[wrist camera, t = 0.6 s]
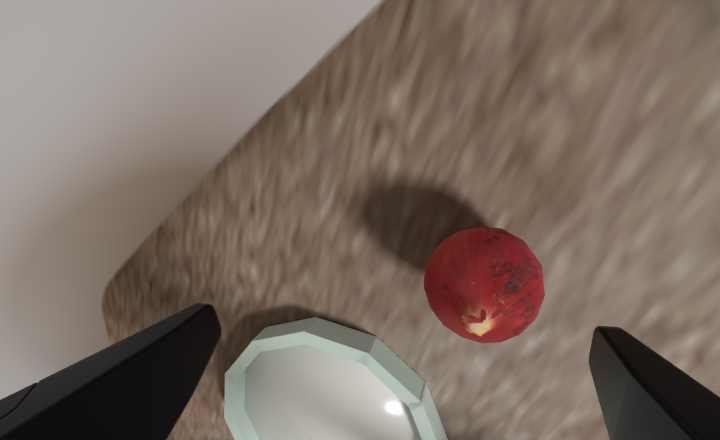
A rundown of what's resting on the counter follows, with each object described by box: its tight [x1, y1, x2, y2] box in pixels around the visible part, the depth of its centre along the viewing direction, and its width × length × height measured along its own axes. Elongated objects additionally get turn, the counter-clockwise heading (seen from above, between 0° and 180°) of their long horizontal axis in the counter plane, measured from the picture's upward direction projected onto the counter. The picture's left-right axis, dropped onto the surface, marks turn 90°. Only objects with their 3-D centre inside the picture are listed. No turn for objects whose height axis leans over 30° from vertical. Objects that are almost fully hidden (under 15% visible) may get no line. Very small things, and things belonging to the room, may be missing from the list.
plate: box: [224, 317, 448, 440], centre depth 29 cm, size 18×18×2 cm
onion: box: [424, 227, 545, 343], centre depth 18 cm, size 6×6×8 cm
